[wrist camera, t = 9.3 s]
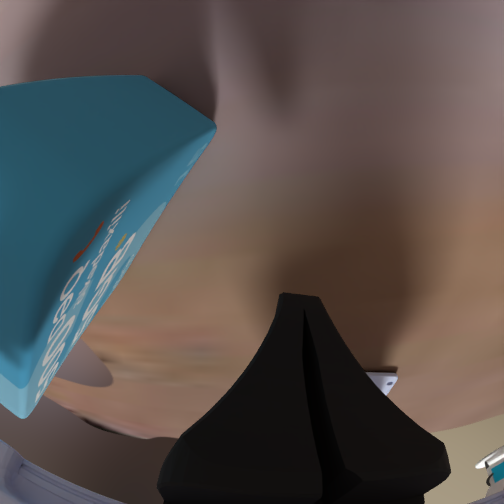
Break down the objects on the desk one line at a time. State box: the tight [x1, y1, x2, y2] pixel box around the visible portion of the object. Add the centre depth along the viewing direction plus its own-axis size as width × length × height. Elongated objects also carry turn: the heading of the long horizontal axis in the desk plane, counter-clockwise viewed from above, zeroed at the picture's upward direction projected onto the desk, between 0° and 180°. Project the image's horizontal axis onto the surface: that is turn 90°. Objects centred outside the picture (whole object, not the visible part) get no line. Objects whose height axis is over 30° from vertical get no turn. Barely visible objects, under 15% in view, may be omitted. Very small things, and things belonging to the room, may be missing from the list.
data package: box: [0, 75, 217, 419], centre depth 11 cm, size 12×4×12 cm, turn 143°
